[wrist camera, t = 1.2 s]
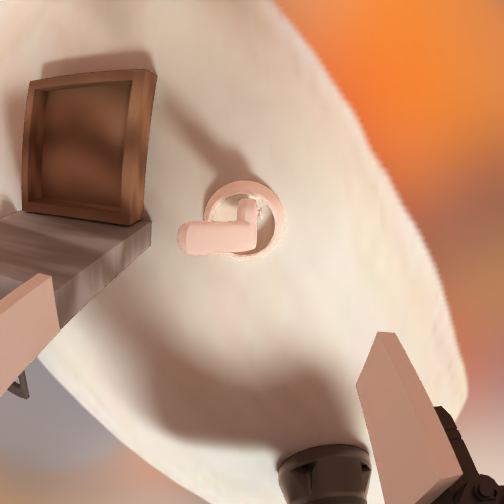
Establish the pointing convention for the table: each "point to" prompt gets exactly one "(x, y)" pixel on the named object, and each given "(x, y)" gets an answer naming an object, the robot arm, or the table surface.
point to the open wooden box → (80, 185)
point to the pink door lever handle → (233, 224)
